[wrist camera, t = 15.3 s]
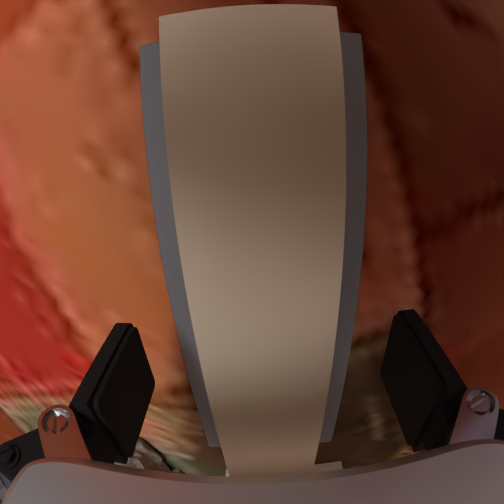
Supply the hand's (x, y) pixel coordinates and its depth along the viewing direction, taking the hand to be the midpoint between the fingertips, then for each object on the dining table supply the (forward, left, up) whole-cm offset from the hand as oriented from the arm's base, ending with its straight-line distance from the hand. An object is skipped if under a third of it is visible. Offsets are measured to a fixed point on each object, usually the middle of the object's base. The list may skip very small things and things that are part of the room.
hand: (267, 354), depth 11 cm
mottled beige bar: (0, 0, -3) cm, 3 cm away
